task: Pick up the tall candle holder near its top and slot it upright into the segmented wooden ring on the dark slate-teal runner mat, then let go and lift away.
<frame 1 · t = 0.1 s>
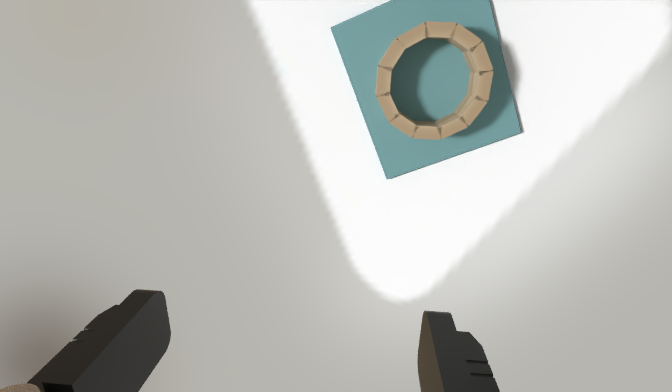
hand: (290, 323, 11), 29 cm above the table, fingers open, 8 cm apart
runner mat: (427, 81, 36), on the table
segmented wooden ring: (428, 81, 36), resting on runner mat
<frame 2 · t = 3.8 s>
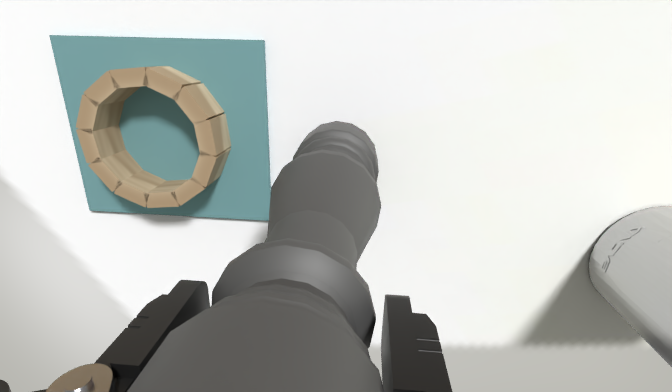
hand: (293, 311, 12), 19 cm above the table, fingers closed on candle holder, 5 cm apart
runner mat: (169, 133, 30), on the table
candle holder: (338, 159, 29), on the table, touching gripper
segmented wooden ring: (167, 134, 29), resting on runner mat
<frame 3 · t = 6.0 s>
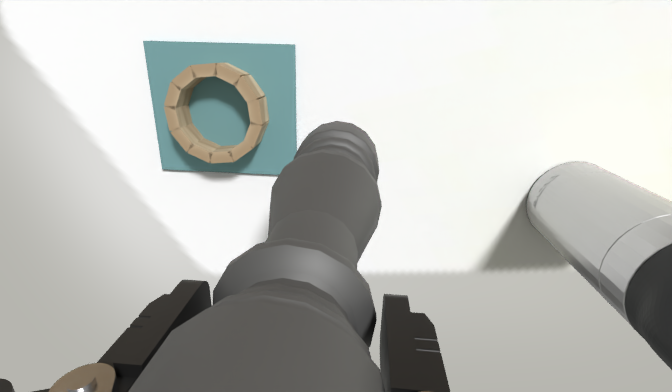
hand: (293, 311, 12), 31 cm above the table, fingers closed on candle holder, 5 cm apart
runner mat: (224, 111, 41), on the table
candle holder: (338, 159, 29), point 12 cm above the table, touching gripper
segmented wooden ring: (223, 111, 41), resting on runner mat
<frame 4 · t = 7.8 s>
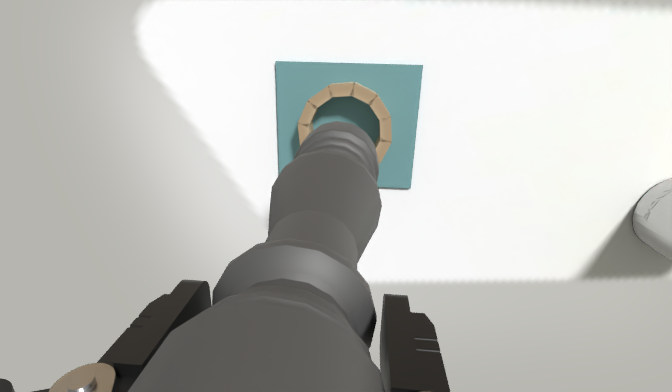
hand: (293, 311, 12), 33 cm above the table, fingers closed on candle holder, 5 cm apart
runner mat: (346, 127, 43), on the table
candle holder: (338, 159, 29), point 15 cm above the table, touching gripper
segmented wooden ring: (346, 127, 43), resting on runner mat
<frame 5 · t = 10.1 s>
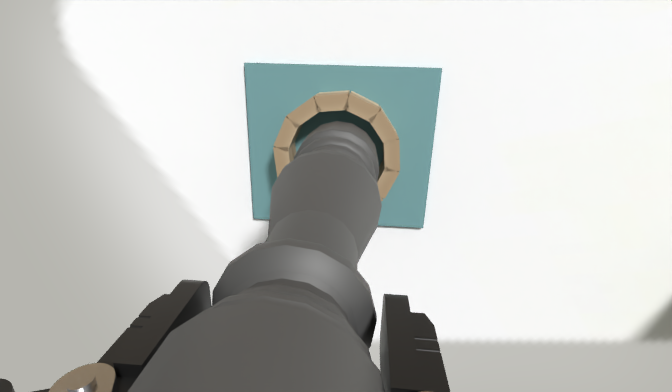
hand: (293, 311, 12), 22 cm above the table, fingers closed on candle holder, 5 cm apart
runner mat: (339, 149, 33), on the table
candle holder: (338, 159, 29), point 4 cm above the table, touching gripper
segmented wooden ring: (339, 150, 32), resting on runner mat
when the fingers open (20 cm above the table, at t = 11.8 s): candle holder stays where it is, resting on runner mat.
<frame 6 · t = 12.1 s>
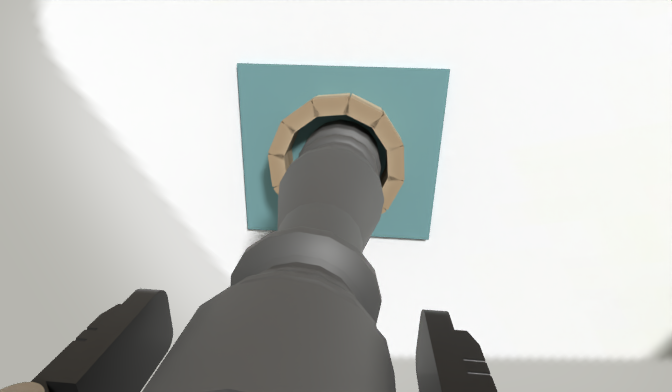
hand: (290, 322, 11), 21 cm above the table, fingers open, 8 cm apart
runner mat: (339, 155, 31), on the table
candle holder: (341, 156, 30), resting on runner mat
segmented wooden ring: (338, 157, 30), resting on runner mat
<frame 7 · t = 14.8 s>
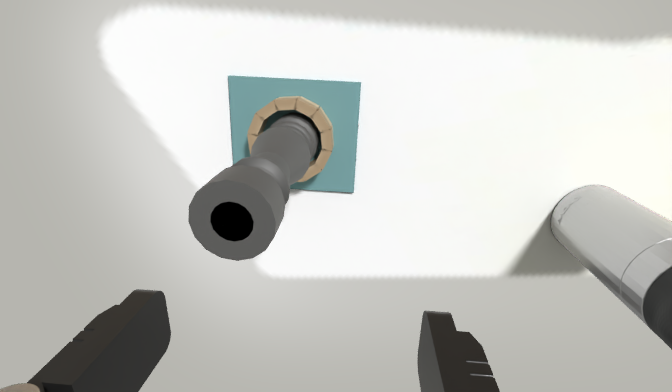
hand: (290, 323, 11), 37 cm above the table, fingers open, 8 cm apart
runner mat: (294, 136, 47), on the table
candle holder: (295, 136, 47), resting on runner mat
segmented wooden ring: (293, 137, 47), resting on runner mat
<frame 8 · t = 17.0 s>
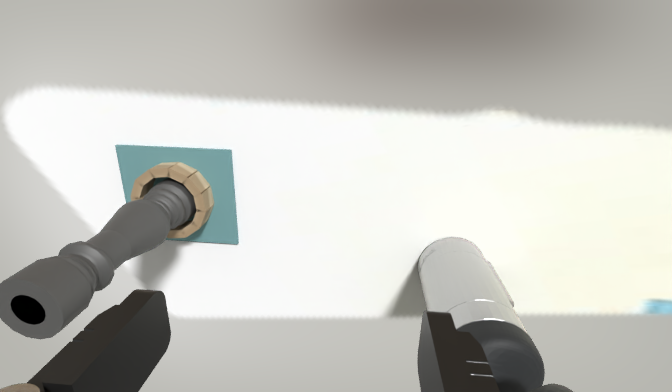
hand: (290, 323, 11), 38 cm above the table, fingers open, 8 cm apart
runner mat: (180, 195, 53), on the table
candle holder: (180, 196, 52), resting on runner mat
segmented wooden ring: (178, 196, 52), resting on runner mat
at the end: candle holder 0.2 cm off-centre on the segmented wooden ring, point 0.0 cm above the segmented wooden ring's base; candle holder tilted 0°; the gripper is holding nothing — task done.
